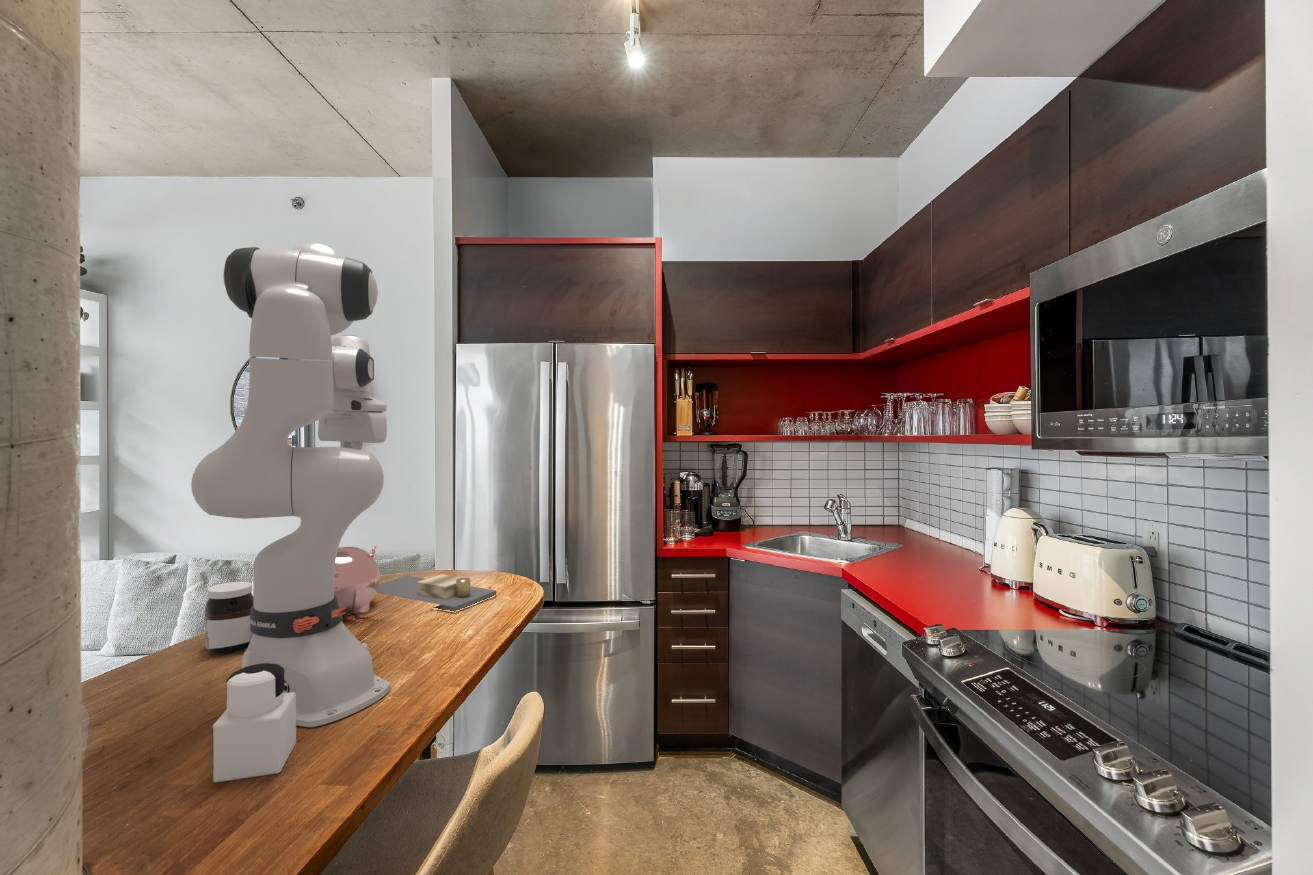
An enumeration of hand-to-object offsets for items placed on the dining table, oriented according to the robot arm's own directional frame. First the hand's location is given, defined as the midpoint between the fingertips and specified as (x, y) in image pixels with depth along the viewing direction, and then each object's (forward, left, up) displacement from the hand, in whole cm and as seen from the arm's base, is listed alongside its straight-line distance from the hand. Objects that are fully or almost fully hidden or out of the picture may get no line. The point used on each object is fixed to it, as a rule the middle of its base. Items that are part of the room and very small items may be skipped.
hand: (351, 460), depth 143 cm
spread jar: (-10, +31, -33) cm, 47 cm away
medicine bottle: (-51, +53, -33) cm, 81 cm away
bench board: (-17, -8, -33) cm, 38 cm away
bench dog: (-28, -8, -32) cm, 43 cm away
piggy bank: (-10, +12, -33) cm, 37 cm away
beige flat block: (-22, -8, -32) cm, 39 cm away
